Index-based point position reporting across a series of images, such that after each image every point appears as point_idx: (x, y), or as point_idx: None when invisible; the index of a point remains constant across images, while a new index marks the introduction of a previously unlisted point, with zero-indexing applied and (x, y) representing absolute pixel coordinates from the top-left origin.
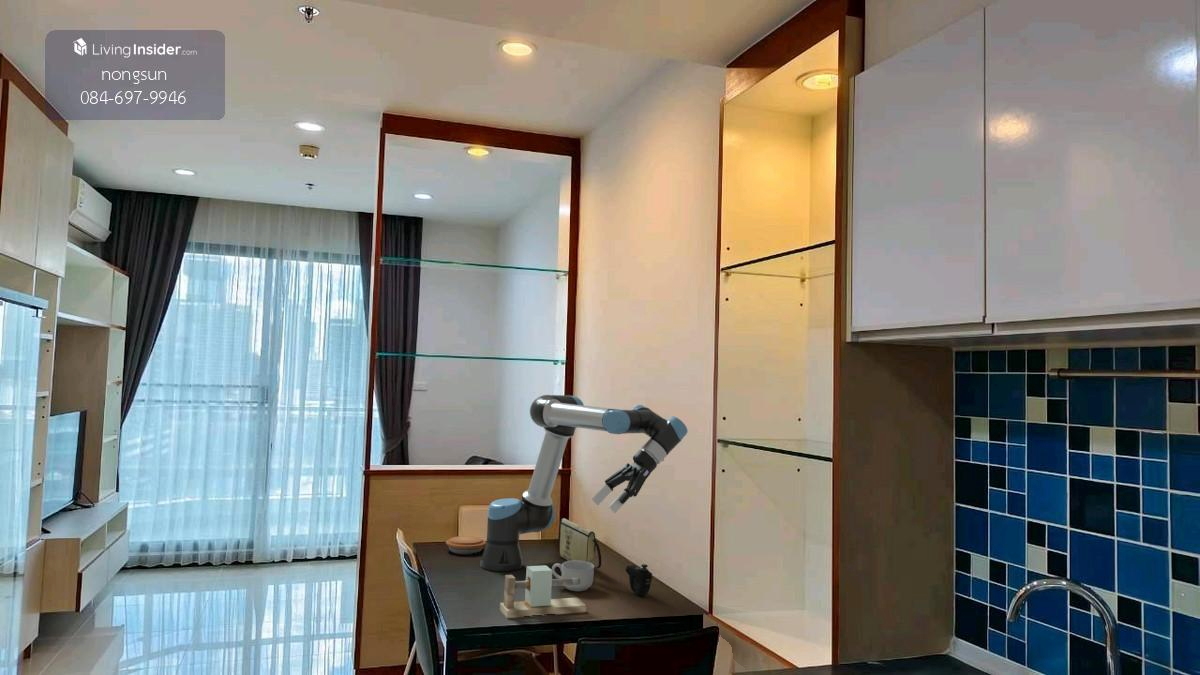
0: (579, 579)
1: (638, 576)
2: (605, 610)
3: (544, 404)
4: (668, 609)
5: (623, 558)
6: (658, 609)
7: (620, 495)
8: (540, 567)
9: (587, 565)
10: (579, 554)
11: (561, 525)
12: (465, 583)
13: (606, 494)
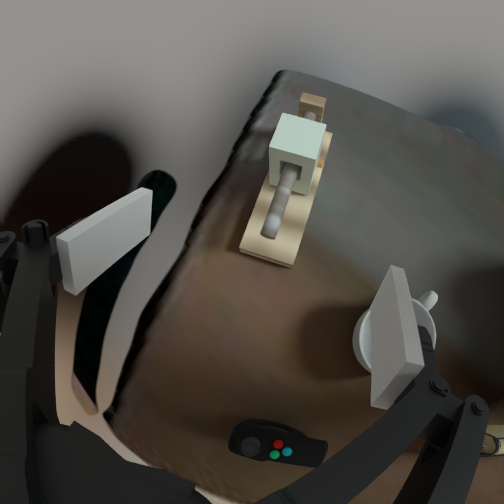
0: (262, 230)
1: (256, 426)
2: (227, 292)
3: None
4: (161, 403)
5: None
6: (171, 387)
7: (82, 220)
8: (304, 140)
9: None
10: (494, 427)
11: None
12: (475, 180)
13: (376, 359)
